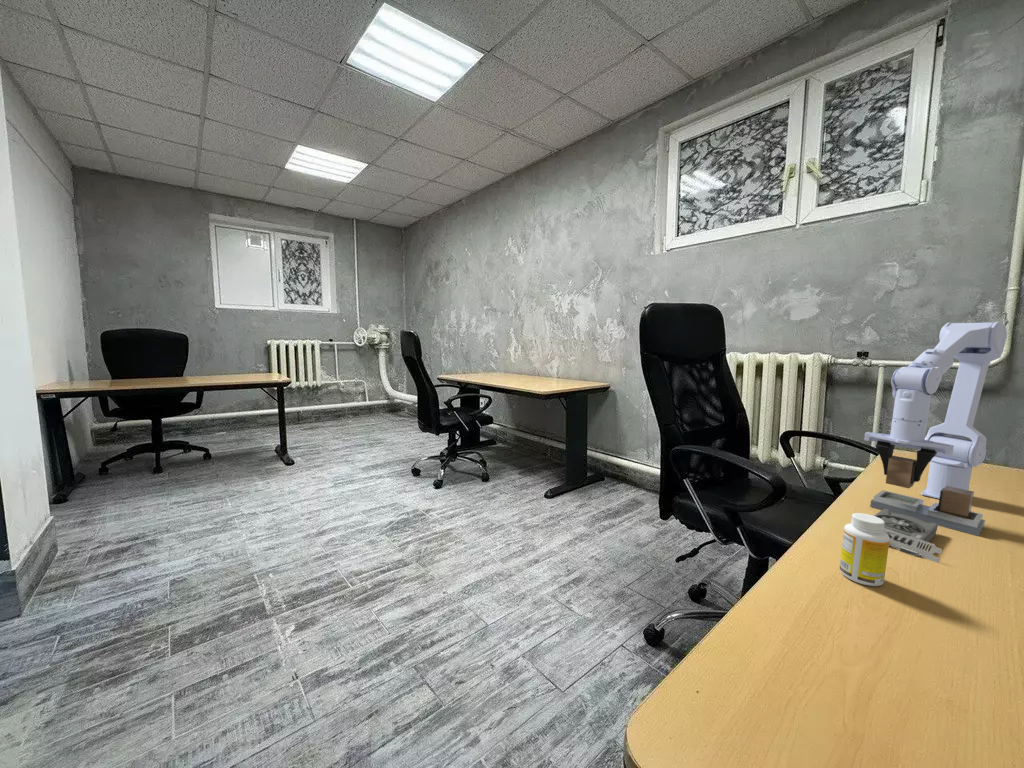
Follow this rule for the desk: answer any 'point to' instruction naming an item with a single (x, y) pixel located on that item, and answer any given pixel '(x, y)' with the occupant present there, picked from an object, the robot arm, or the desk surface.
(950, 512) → the grey block holder
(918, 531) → the graphics card
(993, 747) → the desk surface
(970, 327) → the robot arm
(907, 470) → the walnut block
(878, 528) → the supplement bottle
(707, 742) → the desk surface
